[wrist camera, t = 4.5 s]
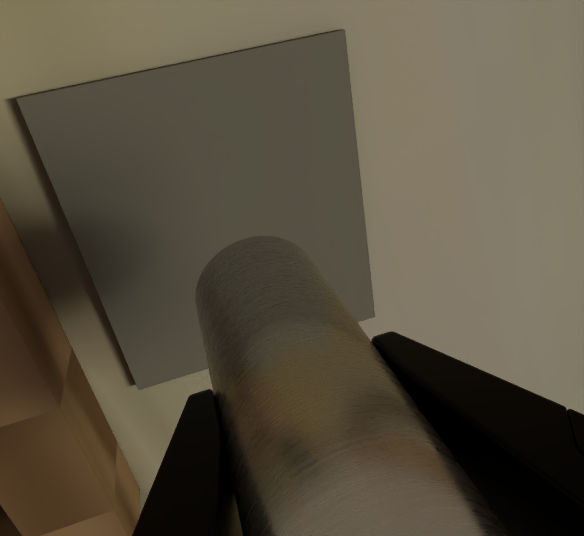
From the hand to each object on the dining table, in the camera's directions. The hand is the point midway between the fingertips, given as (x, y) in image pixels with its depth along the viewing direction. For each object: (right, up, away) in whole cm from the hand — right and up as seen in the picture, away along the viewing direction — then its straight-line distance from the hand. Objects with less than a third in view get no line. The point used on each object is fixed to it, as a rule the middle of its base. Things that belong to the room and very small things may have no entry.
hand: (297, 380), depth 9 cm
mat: (-2, +3, +7) cm, 8 cm away
